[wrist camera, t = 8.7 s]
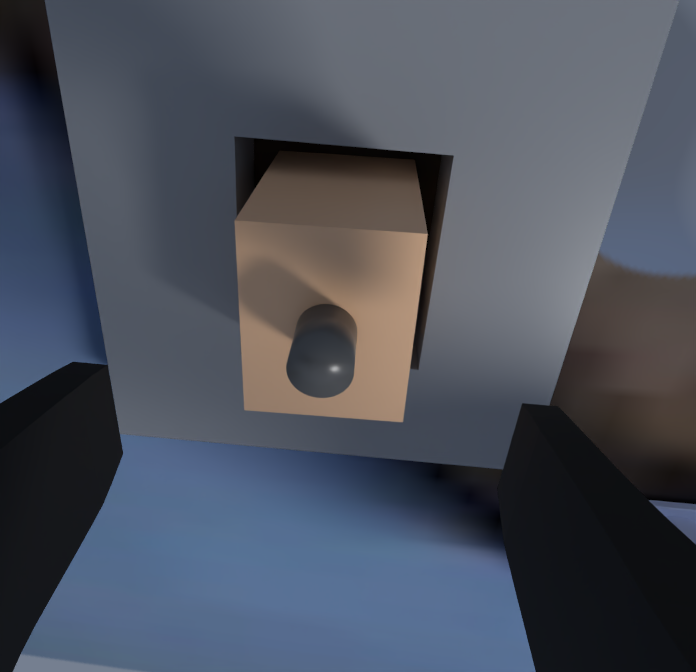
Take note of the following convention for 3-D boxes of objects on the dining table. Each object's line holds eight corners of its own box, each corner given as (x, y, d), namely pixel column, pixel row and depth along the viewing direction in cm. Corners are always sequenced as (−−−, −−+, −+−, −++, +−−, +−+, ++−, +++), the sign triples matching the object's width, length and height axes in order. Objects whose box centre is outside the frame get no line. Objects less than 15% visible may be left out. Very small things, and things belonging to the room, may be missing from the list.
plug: (414, 159, 17) (433, 266, 10) (398, 308, 20) (404, 467, 13) (279, 150, 17) (214, 250, 11) (281, 299, 20) (229, 454, 13)
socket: (637, -6, 14) (680, -5, 12) (513, 424, 22) (527, 471, 20) (85, -53, 15) (34, -59, 12) (146, 390, 22) (120, 434, 20)
